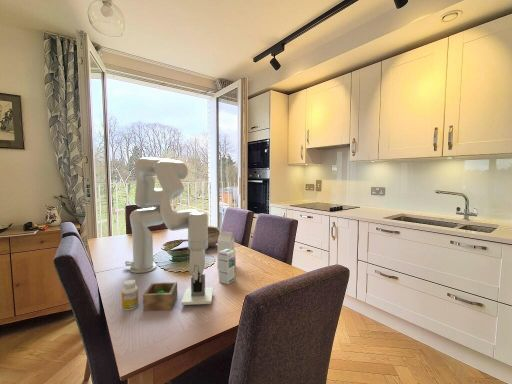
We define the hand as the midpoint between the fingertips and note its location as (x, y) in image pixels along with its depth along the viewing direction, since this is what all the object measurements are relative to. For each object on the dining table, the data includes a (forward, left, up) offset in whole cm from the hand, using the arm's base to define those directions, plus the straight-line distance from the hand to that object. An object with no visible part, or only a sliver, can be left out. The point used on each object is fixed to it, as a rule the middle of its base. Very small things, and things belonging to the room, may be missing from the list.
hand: (198, 289), depth 97 cm
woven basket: (-4, +72, -5) cm, 72 cm away
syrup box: (+11, +17, -5) cm, 21 cm away
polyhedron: (-14, -1, -5) cm, 15 cm away
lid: (0, 0, -3) cm, 3 cm away
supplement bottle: (-25, -3, -5) cm, 25 cm away
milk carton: (+10, +35, -5) cm, 37 cm away
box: (-14, -1, -5) cm, 15 cm away
